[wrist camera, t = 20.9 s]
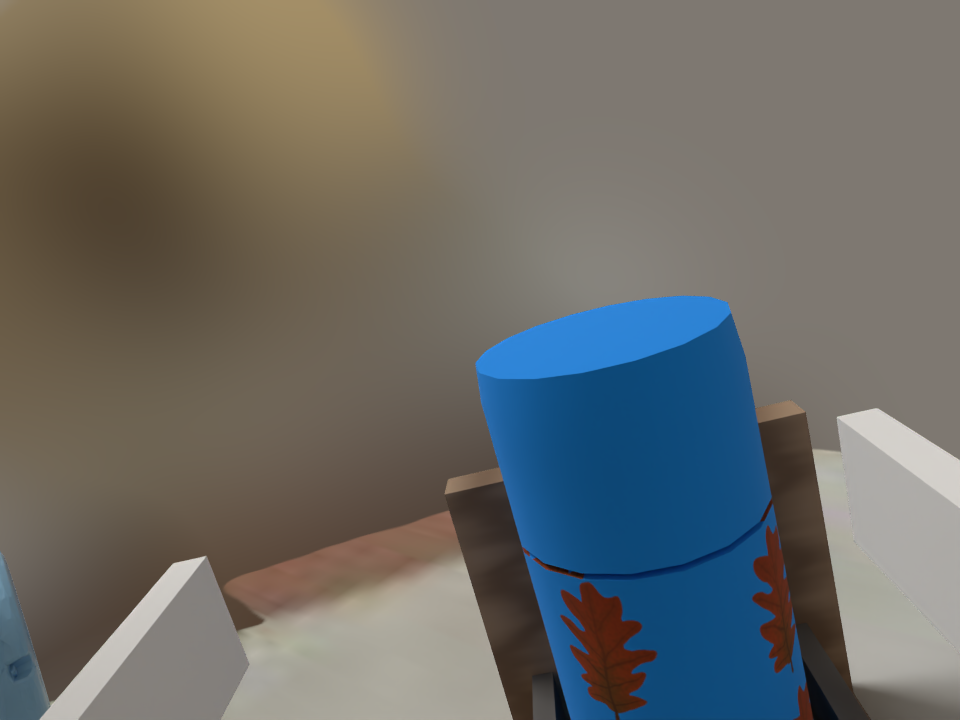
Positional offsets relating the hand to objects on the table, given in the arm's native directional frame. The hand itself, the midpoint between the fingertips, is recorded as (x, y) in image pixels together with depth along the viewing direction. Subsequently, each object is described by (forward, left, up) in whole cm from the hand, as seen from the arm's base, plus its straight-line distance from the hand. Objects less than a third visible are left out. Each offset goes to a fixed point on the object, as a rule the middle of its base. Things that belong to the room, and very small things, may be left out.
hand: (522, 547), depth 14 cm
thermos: (+3, +15, -25) cm, 29 cm away
